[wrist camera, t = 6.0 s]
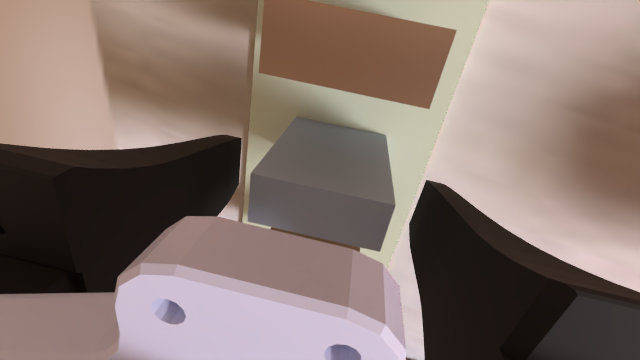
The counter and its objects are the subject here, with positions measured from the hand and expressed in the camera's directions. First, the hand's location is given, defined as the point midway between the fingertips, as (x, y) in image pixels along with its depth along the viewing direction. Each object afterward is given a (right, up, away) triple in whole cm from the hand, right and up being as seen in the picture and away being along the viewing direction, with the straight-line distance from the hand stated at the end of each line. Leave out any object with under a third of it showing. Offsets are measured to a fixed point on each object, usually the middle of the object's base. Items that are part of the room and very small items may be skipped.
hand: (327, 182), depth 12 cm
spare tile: (+1, +2, +3) cm, 4 cm away
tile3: (+1, +6, +1) cm, 6 cm away
